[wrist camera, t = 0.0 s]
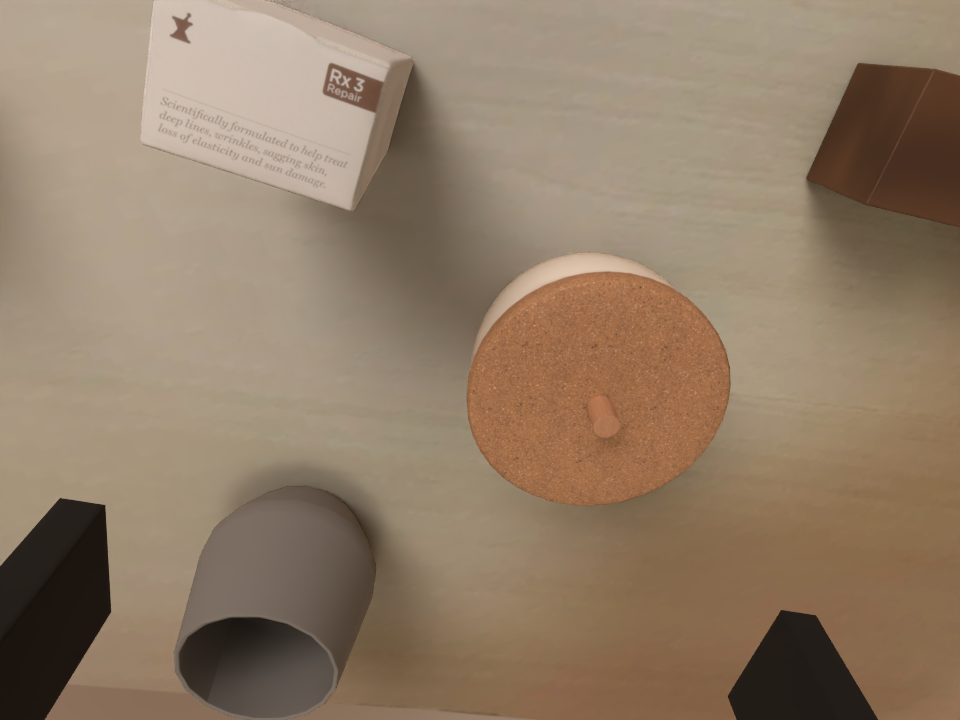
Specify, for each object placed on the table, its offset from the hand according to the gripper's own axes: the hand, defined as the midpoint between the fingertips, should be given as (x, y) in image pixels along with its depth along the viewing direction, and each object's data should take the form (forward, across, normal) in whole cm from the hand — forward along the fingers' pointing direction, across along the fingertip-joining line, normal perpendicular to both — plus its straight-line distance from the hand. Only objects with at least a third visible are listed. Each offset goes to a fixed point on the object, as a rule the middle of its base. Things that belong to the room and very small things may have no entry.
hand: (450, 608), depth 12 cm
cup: (+21, -6, -18) cm, 28 cm away
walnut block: (+21, +17, +10) cm, 29 cm away
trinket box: (+21, +6, -2) cm, 22 cm away
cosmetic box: (+21, -7, +7) cm, 23 cm away
